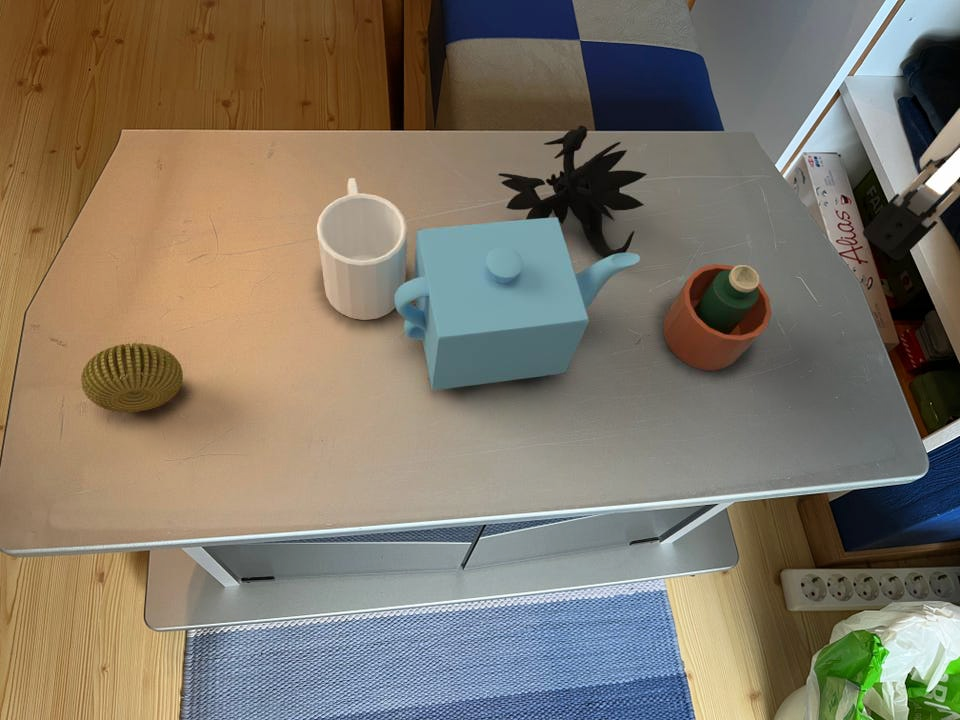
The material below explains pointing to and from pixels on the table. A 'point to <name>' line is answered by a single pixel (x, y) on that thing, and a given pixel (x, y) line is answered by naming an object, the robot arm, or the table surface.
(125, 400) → the sculpture
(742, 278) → the bottle
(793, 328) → the table surface
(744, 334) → the cup
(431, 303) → the teapot
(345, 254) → the mug
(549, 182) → the figurine
